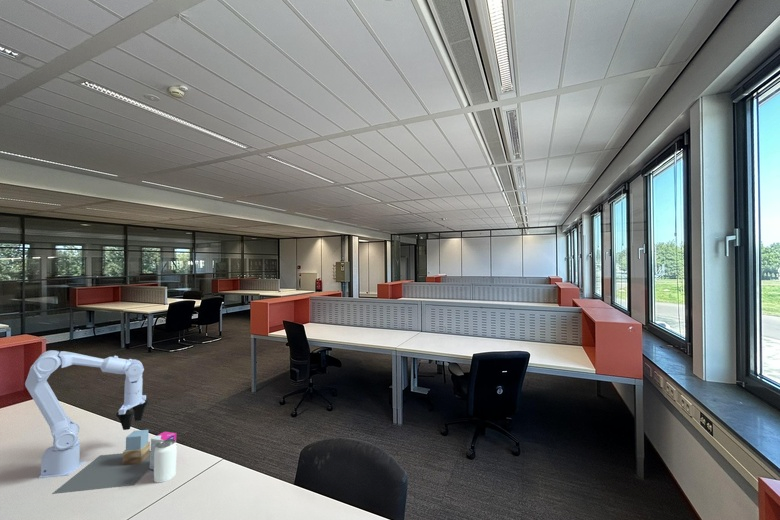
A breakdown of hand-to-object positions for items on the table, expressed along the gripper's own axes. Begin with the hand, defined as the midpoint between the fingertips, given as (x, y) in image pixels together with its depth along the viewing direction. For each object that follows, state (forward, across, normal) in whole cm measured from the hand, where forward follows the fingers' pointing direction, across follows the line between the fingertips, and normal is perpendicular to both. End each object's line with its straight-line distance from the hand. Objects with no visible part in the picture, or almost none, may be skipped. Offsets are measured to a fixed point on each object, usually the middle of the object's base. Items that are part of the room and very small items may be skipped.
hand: (132, 424), depth 129 cm
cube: (+5, -8, -6) cm, 11 cm away
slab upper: (+8, -8, -6) cm, 12 cm away
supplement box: (+11, -14, -18) cm, 25 cm away
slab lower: (+10, -8, -6) cm, 14 cm away
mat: (+10, -13, -2) cm, 17 cm away
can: (+11, -21, -22) cm, 32 cm away
